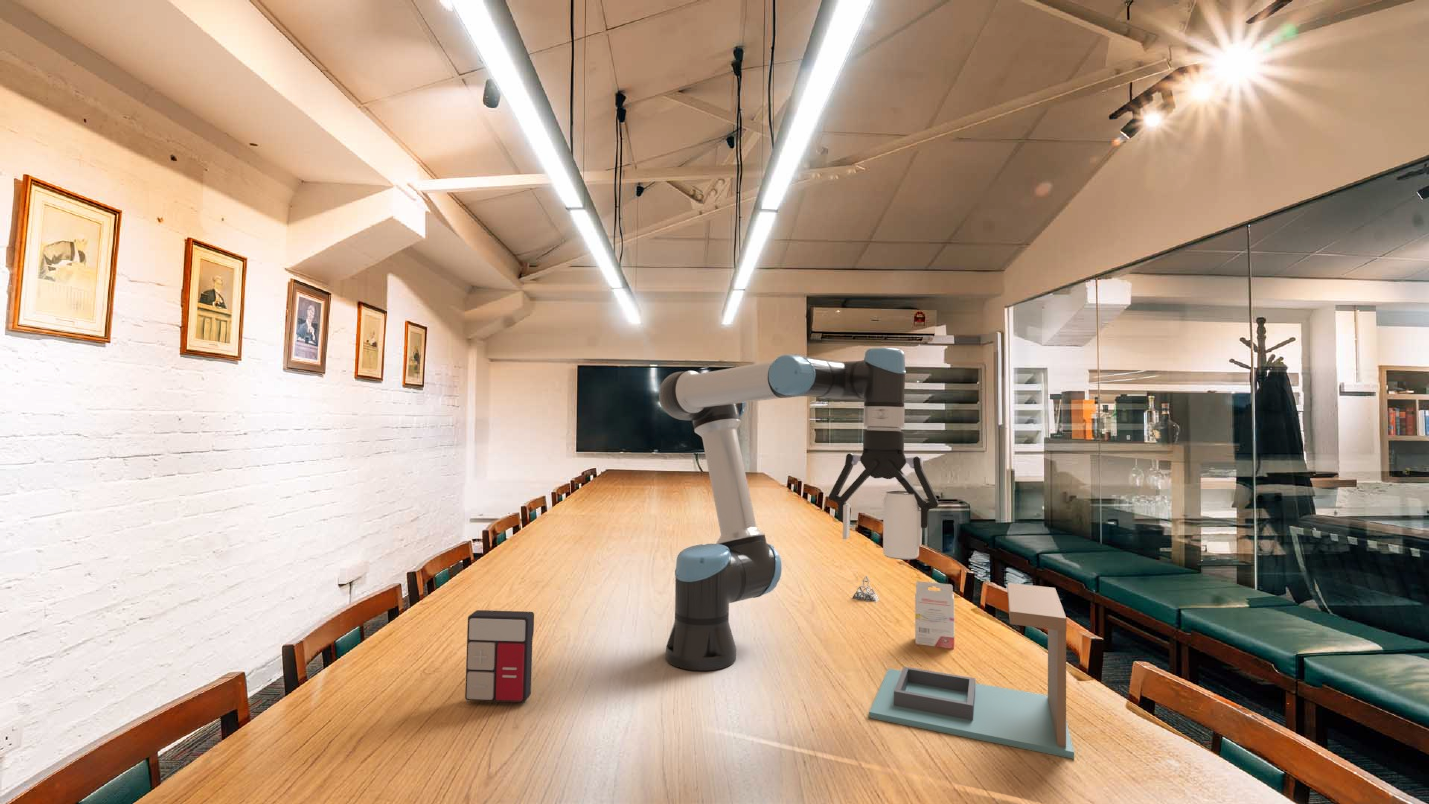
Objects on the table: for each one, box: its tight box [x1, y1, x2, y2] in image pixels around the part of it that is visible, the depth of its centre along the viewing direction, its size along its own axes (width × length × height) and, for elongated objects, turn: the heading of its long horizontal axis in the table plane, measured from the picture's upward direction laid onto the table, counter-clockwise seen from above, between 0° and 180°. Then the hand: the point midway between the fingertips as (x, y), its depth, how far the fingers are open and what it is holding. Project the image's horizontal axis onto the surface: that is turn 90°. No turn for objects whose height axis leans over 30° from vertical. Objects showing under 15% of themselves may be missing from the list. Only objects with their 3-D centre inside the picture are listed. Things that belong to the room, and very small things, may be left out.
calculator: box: [464, 609, 535, 703], centre depth 116 cm, size 11×4×15 cm, turn 88°
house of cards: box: [851, 575, 880, 603], centre depth 186 cm, size 9×9×8 cm
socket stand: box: [868, 582, 1075, 760], centre depth 115 cm, size 31×22×21 cm
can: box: [882, 490, 920, 561], centre depth 120 cm, size 6×6×12 cm
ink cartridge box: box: [914, 580, 955, 650], centre depth 149 cm, size 9×5×15 cm, turn 68°
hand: (881, 541), depth 122 cm, fingers open, 13 cm apart
